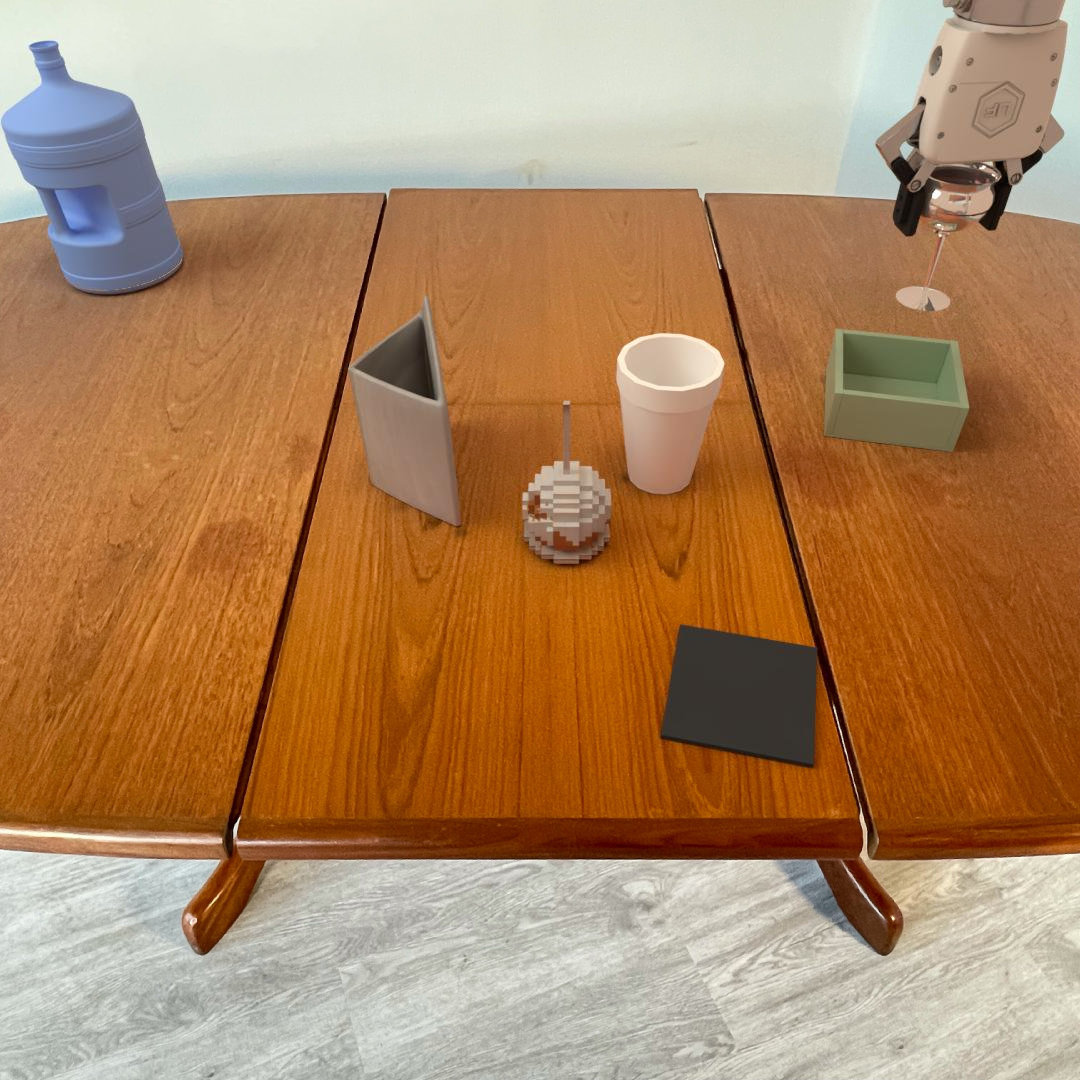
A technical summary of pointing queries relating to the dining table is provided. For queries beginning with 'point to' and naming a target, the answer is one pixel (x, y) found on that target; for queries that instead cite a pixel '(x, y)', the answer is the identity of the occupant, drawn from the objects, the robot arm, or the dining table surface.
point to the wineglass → (950, 218)
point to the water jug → (93, 180)
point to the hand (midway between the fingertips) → (944, 226)
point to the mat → (743, 695)
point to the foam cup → (666, 406)
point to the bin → (895, 390)
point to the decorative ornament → (567, 508)
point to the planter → (408, 418)
